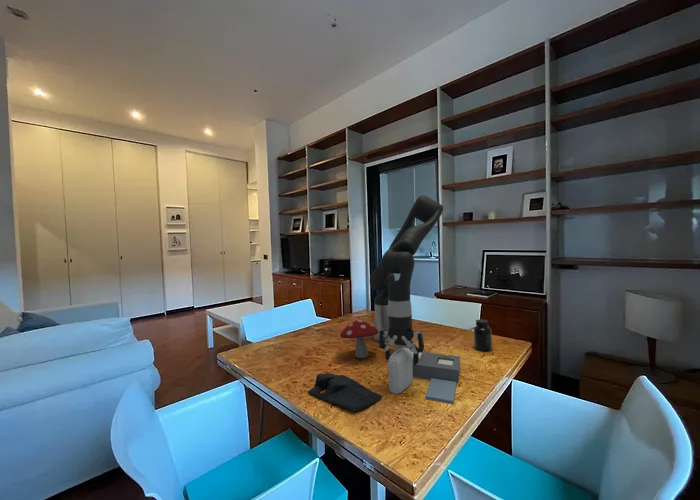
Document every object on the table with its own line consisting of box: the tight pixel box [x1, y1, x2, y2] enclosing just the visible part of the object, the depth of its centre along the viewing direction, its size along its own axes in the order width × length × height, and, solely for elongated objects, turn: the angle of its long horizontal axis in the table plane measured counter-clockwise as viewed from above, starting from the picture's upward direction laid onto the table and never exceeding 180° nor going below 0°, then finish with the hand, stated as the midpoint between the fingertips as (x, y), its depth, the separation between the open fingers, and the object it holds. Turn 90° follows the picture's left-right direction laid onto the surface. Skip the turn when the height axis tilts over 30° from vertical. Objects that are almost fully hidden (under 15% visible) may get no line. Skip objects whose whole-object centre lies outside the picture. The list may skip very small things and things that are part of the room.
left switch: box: [411, 352, 422, 361], centre depth 108 cm, size 5×5×2 cm
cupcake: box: [392, 338, 417, 351], centre depth 121 cm, size 9×9×10 cm
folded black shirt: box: [307, 372, 383, 412], centre depth 93 cm, size 15×22×5 cm
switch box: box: [410, 350, 461, 385], centre depth 105 cm, size 20×12×5 cm, turn 66°
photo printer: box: [387, 348, 414, 395], centre depth 95 cm, size 10×4×12 cm, turn 140°
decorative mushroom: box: [339, 319, 379, 359], centre depth 122 cm, size 16×16×15 cm
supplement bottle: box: [473, 319, 493, 352], centre depth 124 cm, size 7×7×12 cm
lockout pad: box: [425, 378, 457, 404], centre depth 92 cm, size 8×12×1 cm, turn 156°
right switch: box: [438, 359, 453, 365], centre depth 103 cm, size 5×5×2 cm
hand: (402, 362), depth 95 cm, fingers open, 8 cm apart
